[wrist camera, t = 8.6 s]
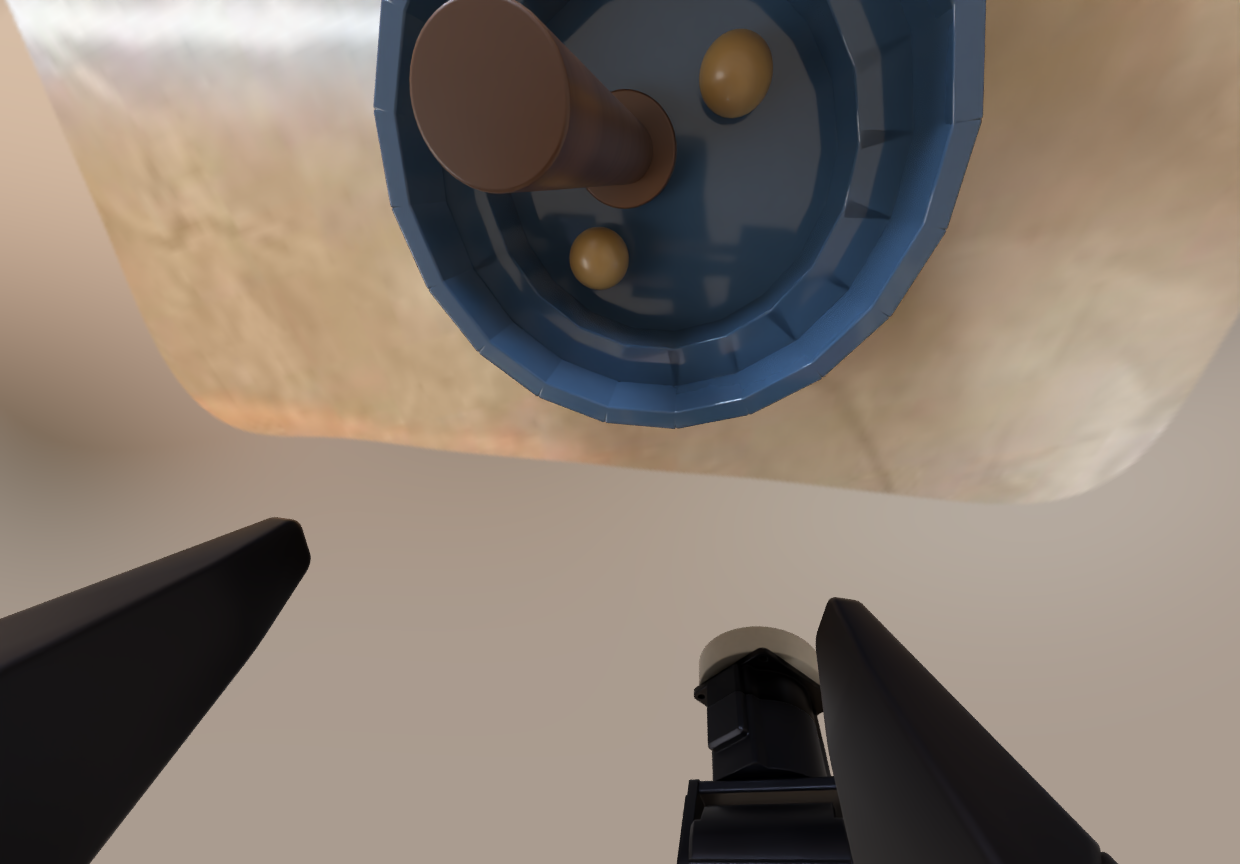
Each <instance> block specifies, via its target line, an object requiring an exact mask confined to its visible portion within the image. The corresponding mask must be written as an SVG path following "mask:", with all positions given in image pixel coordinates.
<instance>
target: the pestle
mask: <svg viewBox="0 0 1240 864" xmlns="http://www.w3.org/2000/svg"><path fill="white" fill-rule="evenodd" d="M409 81H410V96H411V104H412V108H413V112H414V116H415V119H416V122H417V125H418V128H419V130H420V133H421V135H422V137H423V139H424V141H425V143H426V144H427V146H428V148H429V150H430V151H431V153H432V154H433V155H434V157H435V158H436V159H437V161H438V162H439V163H440V164H441V165H442V166H443V167H444V168H445V170H447V171H448V172H449V173H450V174H451V175H452V176H453V177H455V178H456V179H458V180H459V181H461V182H462V183H464V184H466V185H468V186H470V187H471V188H474V189H477V190H480V191H483V192H488V193H496V194H505V193H518V192H532V191H545V190H559V189H573V188H586V189H587V190H588V191H589V193H590V194H591V195H592V196H593V197H594V198H596V199H597V200H598V201H600V202H601V203H603V204H605V205H608V206H610V207H614V208H619V209H629V208H635V207H639V206H641V205H644V204H646V203H648V202H649V201H651V200H652V199H654V198H655V197H656V196H658V195H659V194H660V193H661V192H662V190H663V189H664V188H665V186H666V185H667V183H668V182H669V180H670V178H671V176H672V173H673V170H674V167H675V163H676V157H677V142H676V135H675V132H674V128H673V126H672V123H671V121H670V119H669V117H668V115H667V113H666V112H665V110H664V109H663V108H662V106H661V105H660V104H659V103H658V102H657V101H656V100H654V99H653V98H652V97H650V96H649V95H647V94H645V93H643V92H640V91H637V90H632V89H619V90H614V91H611V92H610V91H609V90H608V89H607V88H606V87H605V86H604V85H603V84H602V83H601V82H600V81H599V80H598V79H597V78H596V77H595V76H594V75H593V74H592V72H591V71H590V70H589V69H588V68H587V67H586V66H585V65H584V64H583V63H582V62H581V61H580V60H579V59H578V58H577V57H576V56H575V55H574V54H573V53H572V52H571V51H570V50H569V49H568V48H567V47H566V46H565V45H564V44H563V43H562V42H561V41H560V40H559V39H558V38H557V37H556V36H555V35H554V34H553V33H552V32H551V31H550V30H549V29H548V28H547V27H546V26H545V25H544V24H543V23H542V22H541V21H540V20H539V19H538V18H537V17H536V16H535V15H534V14H533V13H532V12H531V11H530V10H529V9H527V8H526V7H525V6H523V5H522V4H521V3H519V2H517V1H515V0H449V1H448V2H446V3H444V4H443V5H442V6H441V7H440V8H438V9H437V10H436V11H435V12H434V13H433V14H432V16H431V17H430V18H429V19H428V20H427V22H426V23H425V25H424V27H423V28H422V30H421V32H420V34H419V36H418V39H417V41H416V44H415V47H414V50H413V54H412V59H411V65H410V77H409Z"/></svg>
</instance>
